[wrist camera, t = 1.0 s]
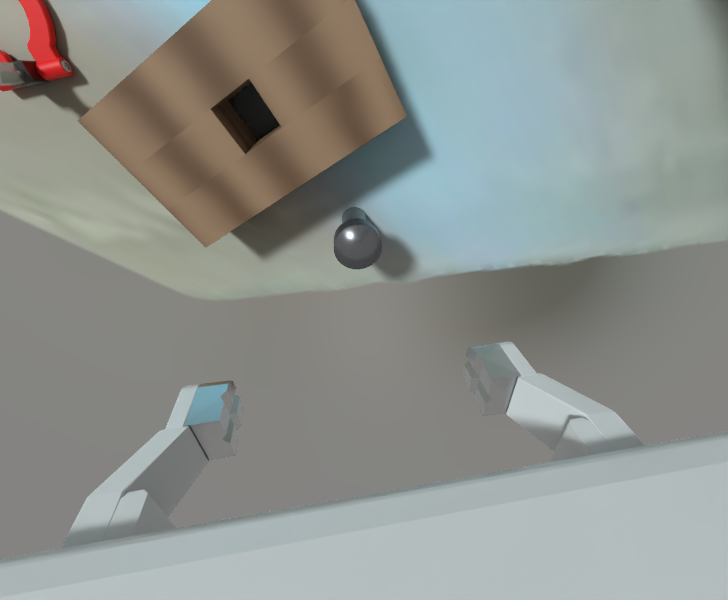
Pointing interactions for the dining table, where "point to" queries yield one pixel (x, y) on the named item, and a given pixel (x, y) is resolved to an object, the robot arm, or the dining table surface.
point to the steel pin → (356, 240)
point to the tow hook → (35, 53)
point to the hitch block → (223, 124)
